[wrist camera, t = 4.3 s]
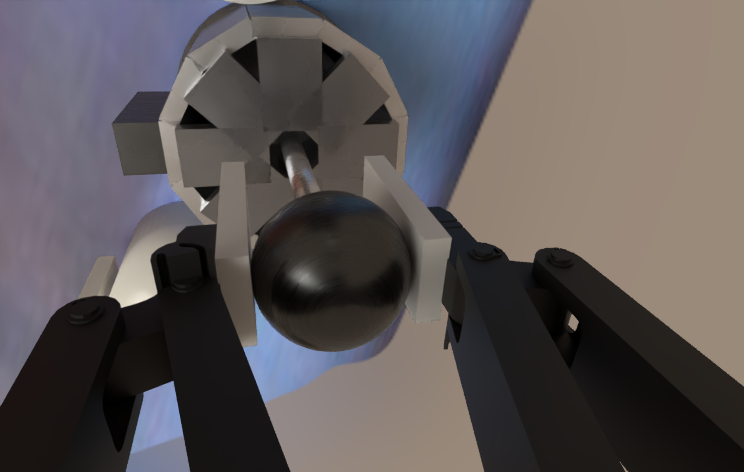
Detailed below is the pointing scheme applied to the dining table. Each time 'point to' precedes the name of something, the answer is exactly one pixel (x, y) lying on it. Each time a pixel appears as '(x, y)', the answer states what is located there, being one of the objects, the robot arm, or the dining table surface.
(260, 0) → the cup
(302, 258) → the plunger
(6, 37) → the dining table surface
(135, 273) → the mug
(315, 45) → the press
